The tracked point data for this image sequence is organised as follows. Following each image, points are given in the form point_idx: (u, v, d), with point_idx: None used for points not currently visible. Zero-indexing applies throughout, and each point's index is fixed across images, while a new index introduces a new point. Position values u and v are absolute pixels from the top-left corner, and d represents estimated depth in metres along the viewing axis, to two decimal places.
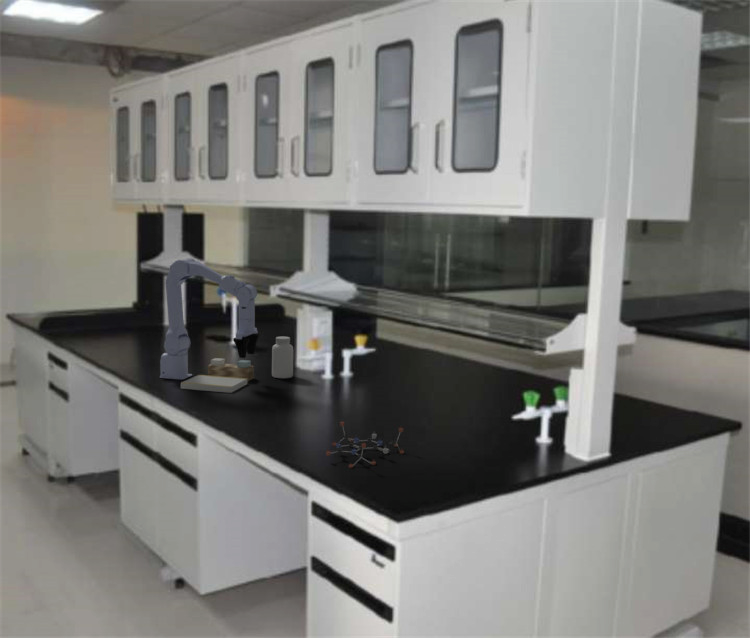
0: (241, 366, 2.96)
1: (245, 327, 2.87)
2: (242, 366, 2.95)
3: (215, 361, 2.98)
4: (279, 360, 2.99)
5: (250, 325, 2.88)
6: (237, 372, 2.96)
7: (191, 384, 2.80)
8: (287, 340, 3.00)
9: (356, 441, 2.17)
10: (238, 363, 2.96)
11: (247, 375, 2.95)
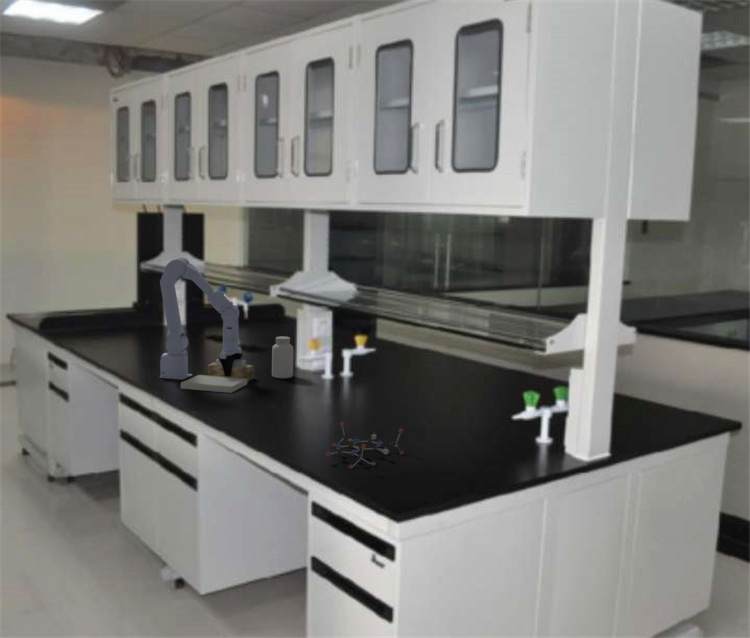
0: (236, 365, 2.96)
1: (229, 346, 2.95)
2: (237, 365, 2.96)
3: None
4: (279, 360, 2.99)
5: (234, 344, 2.95)
6: (237, 372, 2.96)
7: (191, 384, 2.80)
8: (287, 340, 3.00)
9: (356, 442, 2.17)
10: (233, 362, 2.96)
11: (247, 375, 2.95)
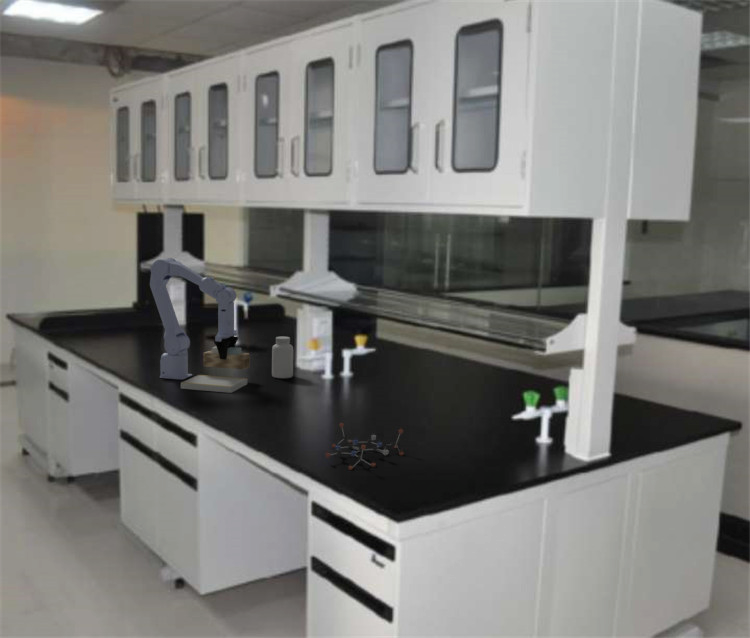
0: (231, 353, 2.92)
1: (224, 329, 2.90)
2: (233, 353, 2.92)
3: (216, 349, 2.93)
4: (279, 360, 2.99)
5: (230, 327, 2.91)
6: (233, 360, 2.91)
7: (191, 384, 2.80)
8: (287, 340, 3.00)
9: (355, 443, 2.16)
10: (228, 350, 2.92)
11: (243, 362, 2.90)
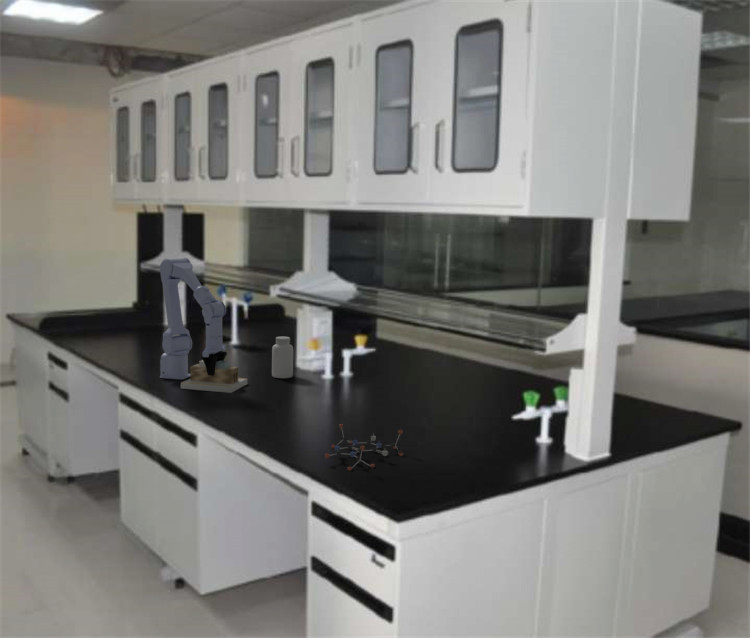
0: (220, 367, 2.82)
1: (212, 344, 2.81)
2: (221, 367, 2.82)
3: None
4: (279, 360, 2.99)
5: (218, 342, 2.81)
6: (221, 374, 2.82)
7: (191, 384, 2.80)
8: (287, 340, 3.00)
9: (355, 443, 2.15)
10: (216, 364, 2.83)
11: (231, 377, 2.81)
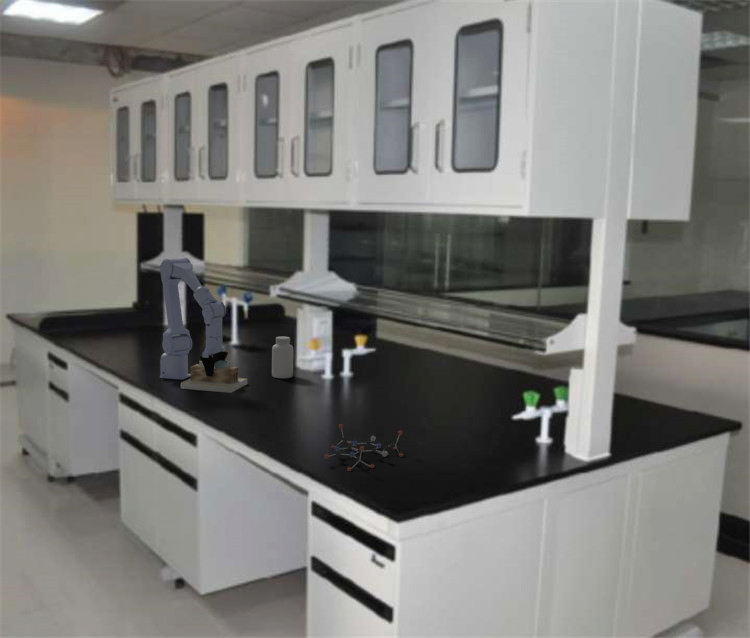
0: (220, 367, 2.82)
1: (212, 345, 2.81)
2: (221, 367, 2.82)
3: None
4: (279, 360, 2.99)
5: (218, 343, 2.81)
6: (221, 374, 2.82)
7: (191, 384, 2.80)
8: (287, 340, 3.00)
9: (355, 444, 2.15)
10: (216, 364, 2.83)
11: (231, 377, 2.81)
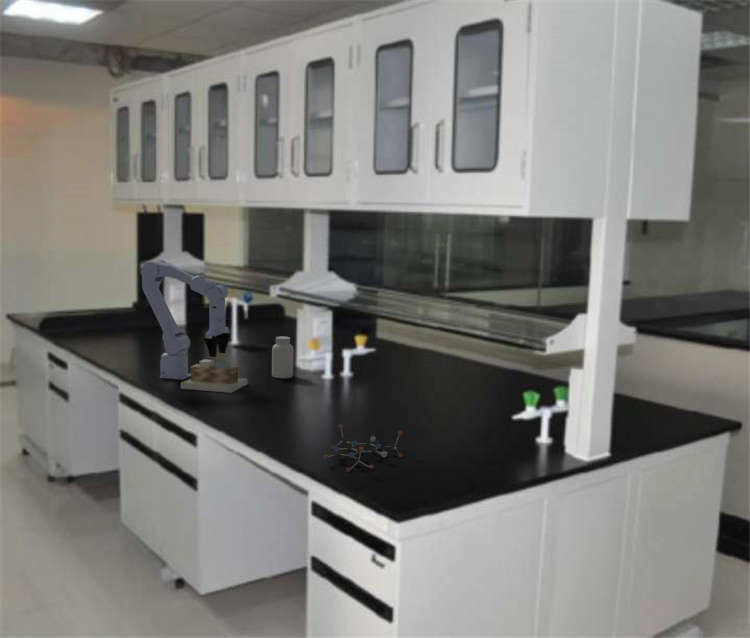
0: (220, 367, 2.82)
1: (215, 326, 2.90)
2: (221, 367, 2.82)
3: (204, 362, 2.84)
4: (279, 360, 2.99)
5: (221, 324, 2.91)
6: (221, 374, 2.82)
7: (191, 384, 2.80)
8: (287, 340, 3.00)
9: (354, 444, 2.15)
10: (216, 364, 2.83)
11: (231, 377, 2.81)
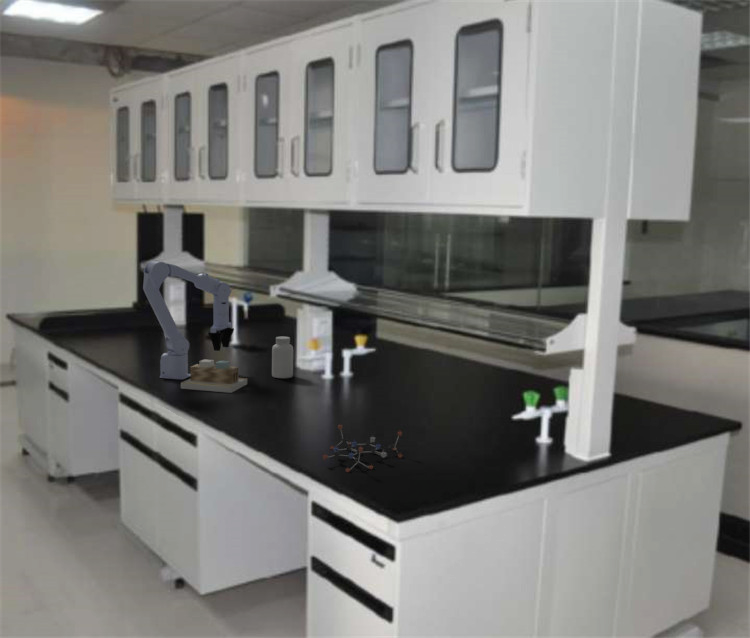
0: (220, 367, 2.82)
1: (219, 321, 3.02)
2: (221, 367, 2.82)
3: (204, 362, 2.84)
4: (279, 360, 2.99)
5: (224, 319, 3.02)
6: (221, 374, 2.82)
7: (191, 384, 2.80)
8: (287, 340, 3.00)
9: (354, 445, 2.14)
10: (216, 364, 2.83)
11: (231, 377, 2.81)
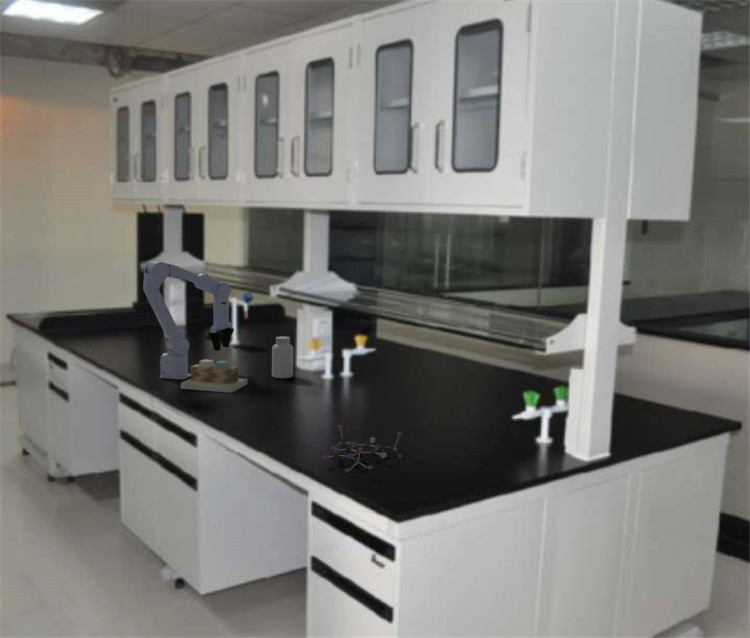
0: (220, 367, 2.82)
1: (219, 321, 3.02)
2: (221, 367, 2.82)
3: (204, 362, 2.84)
4: (279, 360, 2.99)
5: (224, 319, 3.02)
6: (221, 374, 2.82)
7: (191, 384, 2.80)
8: (287, 340, 3.00)
9: (354, 445, 2.14)
10: (216, 364, 2.83)
11: (231, 377, 2.81)
